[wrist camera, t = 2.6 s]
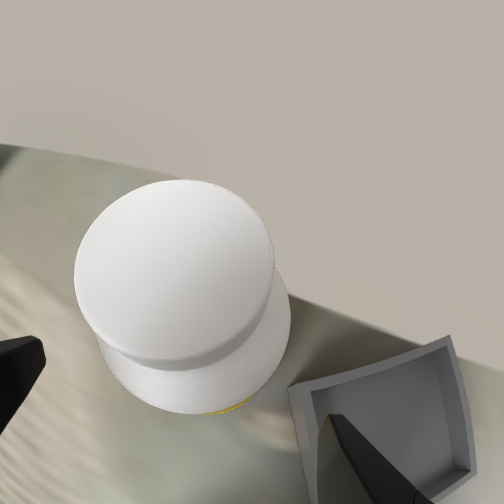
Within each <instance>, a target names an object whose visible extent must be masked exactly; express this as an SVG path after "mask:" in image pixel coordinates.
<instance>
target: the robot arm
mask: <svg viewBox="0 0 504 504" xmlns="http://www.w3.org/2000/svg"><path fill="white" fill-rule="evenodd" d="M45 364H46V357H45V353H44V349H43V344H42V341H41V340H40V339H38V338H36V337H34V336H25V337H20V338H15V339H9V340H4V341H0V435H1V433H2V432H3V430H4V429H5V427H6V426H7V424H8V423H9V421H10V420H11V419H12V417H13V416H14V414H15V413H16V411H17V410H18V408H19V407H20V406H21V404H22V403H23V401H24V400H25V398H26V397H27V395H28V394H29V392H30V390H31V389H32V387H33V385H34V383H35V382H36V380H37V378H38V377H39V375H40V373H41V372H42V370H43V369H44V367H45ZM317 494H318V504H434V503H433V502H432V501H431V500H430V499H428V498H427V497H426V496H425V495H424V494H423V493H422V492H421V491H420V490H418V489H417V490H416V487H415V486H414V485H413V484H412V483H411V482H410V481H409V480H408V479H407V478H406V477H405V476H404V475H403V474H402V473H401V472H399V471H398V470H397V469H396V468H395V467H394V466H393V465H392V464H391V463H390V462H389V461H388V460H387V459H386V458H385V457H384V456H383V455H382V454H381V453H380V452H379V451H378V450H377V449H376V448H375V447H374V446H373V445H372V444H371V443H370V442H369V441H368V440H367V439H366V438H365V437H364V436H363V435H362V434H361V433H360V432H359V431H358V429H357V428H356V427H355V426H354V425H353V424H352V423H351V422H350V421H349V420H348V419H347V418H346V417H345V416H344V415H343V414H336V413H330V414H328V415H327V416H326V418H325V420H324V422H323V424H322V426H321V429H320V431H319V433H318V440H317Z"/></svg>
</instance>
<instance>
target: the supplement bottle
mask: <svg viewBox="0 0 504 504" xmlns="http://www.w3.org/2000/svg"><path fill="white" fill-rule="evenodd" d="M274 265H275V264H274V251H273V245H272V242H271V238H270V235H269V232H268V230H267V228H266V225H265V224H264V222H263V221H262V219H261V217H260V216H259V215H258V213H257V212H256V211H255V210H254V209H253V208H252V207H251V206H250V205H249V204H248V203H247V202H246V201H244V200H243V199H242V198H241V197H239V196H238V195H236V194H234V193H233V192H231V191H229V190H227V189H225V188H223V187H220V186H218V185H215V184H211V183H208V182H203V181H198V180H169V181H162V182H156V183H152V184H149V185H146V186H143V187H140V188H138V189H136V190H133V191H131V192H130V193H128V194H126V195H124V196H123V197H121V198H119V199H118V200H116V201H115V202H114V203H112V204H111V205H110V206H108V207H107V208H106V209H105V210H104V211H103V212H102V213H101V214H100V215H99V216H98V217H97V219H96V220H95V221H94V222H93V223H92V225H91V227H90V228H89V230H88V231H87V233H86V235H85V236H84V238H83V240H82V242H81V245H80V247H79V250H78V254H77V258H76V262H75V270H74V284H75V292H76V297H77V300H78V304H79V306H80V309H81V311H82V313H83V316H84V317H85V319H86V320H87V322H88V323H89V325H90V326H91V327H92V329H93V330H94V331H95V332H96V336H97V340H98V344H99V347H100V350H101V353H102V355H103V357H104V359H105V362H106V363H107V365H108V367H109V369H110V370H111V372H112V373H113V375H114V376H115V377H116V378H117V379H118V380H119V382H120V383H121V384H122V385H123V386H124V387H125V388H126V389H127V390H129V391H130V392H131V393H132V394H134V395H135V396H137V397H138V398H140V399H141V400H143V401H145V402H146V403H148V404H150V405H153V406H155V407H157V408H160V409H163V410H167V411H171V412H175V413H183V414H221V413H225V412H229V411H231V410H234V409H236V408H238V407H240V406H241V405H243V404H244V403H246V402H247V401H248V400H249V399H250V398H251V397H252V396H253V395H254V394H255V393H256V392H257V391H258V390H259V389H260V388H261V387H262V386H263V385H264V384H265V383H266V382H267V381H268V379H269V378H270V377H271V376H272V374H273V373H274V372H275V370H276V368H277V367H278V365H279V363H280V361H281V359H282V357H283V355H284V352H285V349H286V346H287V342H288V338H289V333H290V323H291V313H290V304H289V299H288V295H287V291H286V288H285V286H284V283H283V281H282V279H281V277H280V275H279V273H278V271H277V270H276V268H275V267H274Z"/></svg>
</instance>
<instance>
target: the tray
mask: <svg viewBox="0 0 504 504" xmlns="http://www.w3.org/2000/svg"><path fill="white" fill-rule="evenodd" d="M287 392H288V396H289V401H290V406H291V411H292V416H293V421H294V426H295V431H296V436H297V441H298V446H299V451H300V456H301V461H302V466H303V471H304V476H305V481H306V486H307V491H308V496H309V501H310V504H318V494H317V440H318V433H319V431H320V429H321V426H322V424H323V422H324V420H325V418H326V416H327V415H328V414H330V413H336V414H343V415H344V416H345V417H346V418H347V419H348V420H349V421H350V422H351V423H352V424H353V425H354V426H355V427H356V428H357V429H358V431H359V432H360V433H361V434H362V435H363V436H364V437H365V438H366V439H367V440H368V441H369V442H370V443H371V444H372V445H373V446H374V447H375V448H376V449H377V450H378V451H379V452H380V453H381V454H382V455H383V456H384V457H385V458H386V459H387V460H388V461H389V462H390V463H391V464H392V465H393V466H394V467H395V468H396V469H397V470H398V471H399V472H401V473H402V474H403V475H404V476H405V477H406V478H407V479H408V480H409V481H410V482H411V483H412V484H413V485H414V486H415V487H416V490H417V489H418V490H420V491H421V492H422V493H423V494H424V495H425V496H426V497H427V498H428V499H430V500H431V501H432V502H433V503H434V504H435V503H436V502H438V501H439V500H441V499H443V498H444V497H446V496H447V495H448V494H450V493H451V492H453V491H454V490H456V489H457V488H458V487H460V486H461V485H462V484H464V483H465V482H466V481H468V480H469V479H470V478H472V477H473V476H474V475H475V474H477V467H476V455H475V446H474V438H473V431H472V424H471V418H470V412H469V407H468V402H467V397H466V393H465V388H464V384H463V380H462V376H461V372H460V368H459V364H458V360H457V357H456V353H455V350H454V347H453V343H452V340H451V337H450V335H448V336H446V337H443V338H441V339H439V340H436V341H434V342H431V343H429V344H426V345H424V346H421V347H419V348H416V349H413V350H411V351H408V352H405V353H402V354H400V355H397V356H394V357H391V358H388V359H385V360H382V361H379V362H376V363H373V364H370V365H366V366H363V367H360V368H356V369H353V370H349V371H346V372H342V373H338V374H334V375H331V376H327V377H323V378H318V379H314V380H310V381H306V382H301V383H297V384H295V385H293V386H291V387H289V388H287Z"/></svg>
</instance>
